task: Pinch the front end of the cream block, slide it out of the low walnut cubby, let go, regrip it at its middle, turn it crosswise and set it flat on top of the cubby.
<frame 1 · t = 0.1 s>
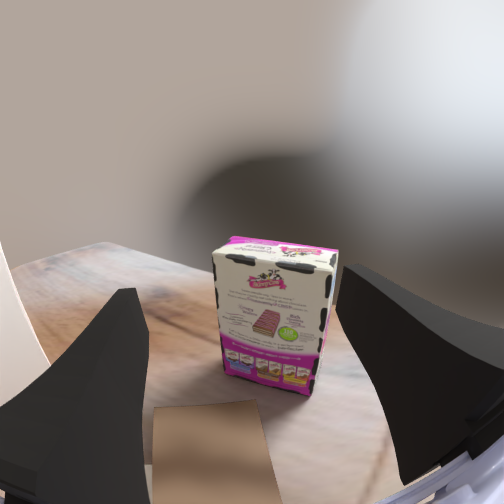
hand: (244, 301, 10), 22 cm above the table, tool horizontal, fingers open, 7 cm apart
candy bar box: (272, 373, 33), on the table
cubby: (220, 494, 18), on the table
milk carton: (6, 364, 29), on the table
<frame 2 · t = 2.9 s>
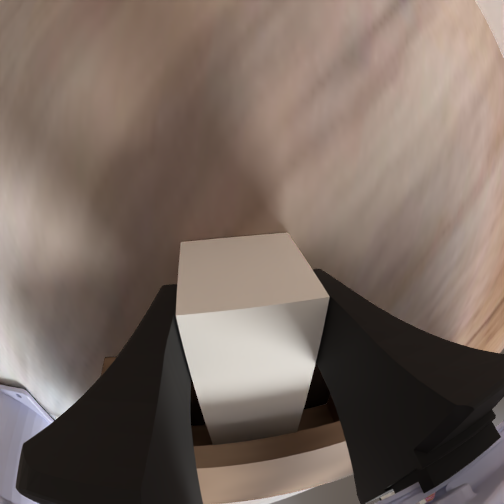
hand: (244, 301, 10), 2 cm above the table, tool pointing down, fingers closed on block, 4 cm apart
cubby: (243, 395, 16), on the table
block: (239, 326, 13), on the table, touching gripper
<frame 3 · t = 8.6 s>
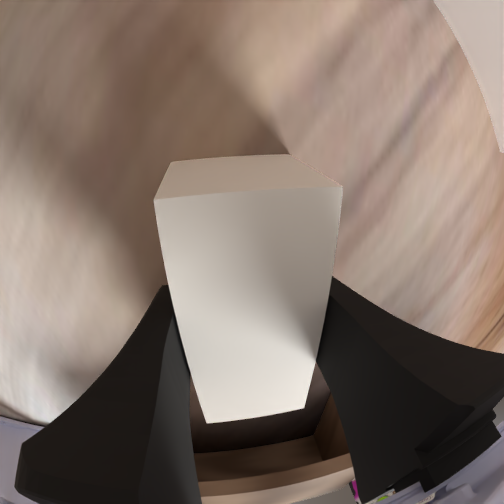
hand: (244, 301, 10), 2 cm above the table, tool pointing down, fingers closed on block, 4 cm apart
candy bar box: (380, 425, 25), on the table
cubby: (245, 433, 19), on the table
block: (236, 271, 11), on the table, touching gripper
when the fingers open (9 cm above the table, at t = 12.8 s): block stays where it is, resting on cubby.
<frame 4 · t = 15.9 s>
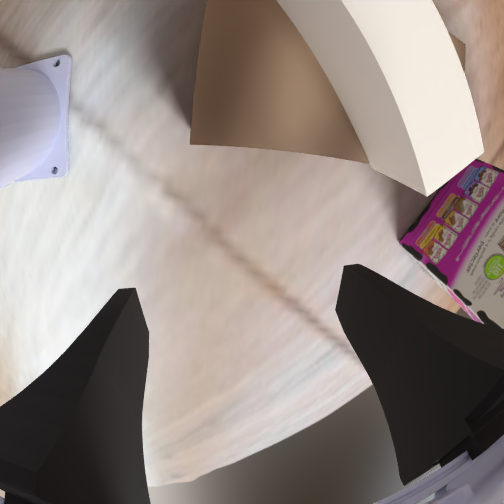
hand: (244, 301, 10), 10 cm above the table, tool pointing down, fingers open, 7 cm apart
candy bar box: (442, 210, 22), on the table
cubby: (314, 75, 15), on the table
block: (364, 65, 10), point 6 cm above the table, touching cubby
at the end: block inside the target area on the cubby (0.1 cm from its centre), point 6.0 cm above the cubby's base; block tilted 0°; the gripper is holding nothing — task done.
